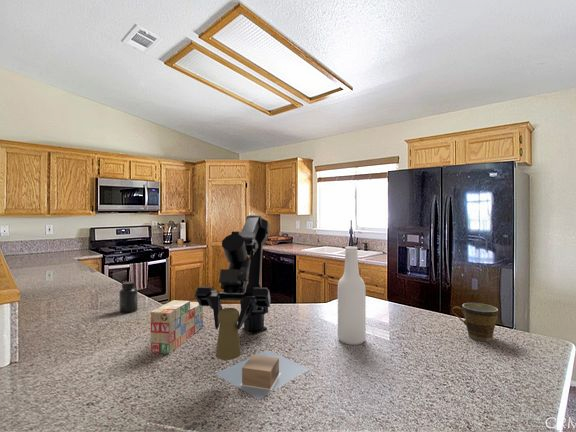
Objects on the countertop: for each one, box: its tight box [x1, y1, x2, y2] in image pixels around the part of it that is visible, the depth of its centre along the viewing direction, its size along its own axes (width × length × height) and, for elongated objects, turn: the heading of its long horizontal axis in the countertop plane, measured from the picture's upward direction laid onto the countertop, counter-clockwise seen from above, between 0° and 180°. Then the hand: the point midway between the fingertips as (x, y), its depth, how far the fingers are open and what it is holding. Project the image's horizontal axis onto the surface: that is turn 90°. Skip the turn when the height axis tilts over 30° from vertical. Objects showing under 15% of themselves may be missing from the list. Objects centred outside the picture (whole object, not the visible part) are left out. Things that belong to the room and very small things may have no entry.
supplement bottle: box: [118, 281, 139, 314], centre depth 130 cm, size 7×7×12 cm
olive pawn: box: [215, 307, 242, 361], centre depth 75 cm, size 6×6×11 cm
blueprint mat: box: [214, 349, 310, 400], centre depth 79 cm, size 18×16×1 cm
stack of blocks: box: [150, 299, 204, 354], centre depth 101 cm, size 21×6×12 cm, turn 169°
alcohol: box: [337, 245, 367, 346], centre depth 99 cm, size 9×9×30 cm
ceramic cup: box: [451, 302, 499, 343], centre depth 101 cm, size 13×10×10 cm
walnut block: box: [242, 354, 279, 389], centre depth 75 cm, size 7×7×4 cm
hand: (227, 328), depth 74 cm, fingers closed on olive pawn, 5 cm apart
